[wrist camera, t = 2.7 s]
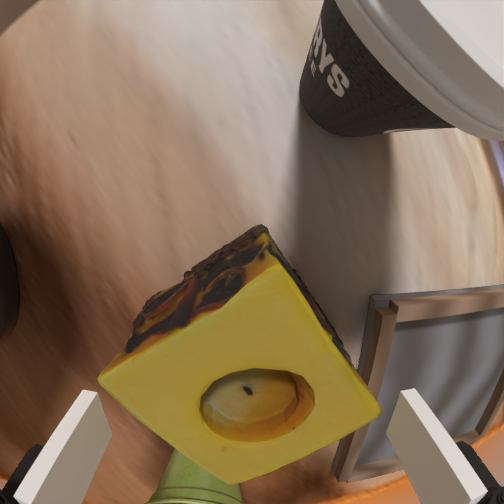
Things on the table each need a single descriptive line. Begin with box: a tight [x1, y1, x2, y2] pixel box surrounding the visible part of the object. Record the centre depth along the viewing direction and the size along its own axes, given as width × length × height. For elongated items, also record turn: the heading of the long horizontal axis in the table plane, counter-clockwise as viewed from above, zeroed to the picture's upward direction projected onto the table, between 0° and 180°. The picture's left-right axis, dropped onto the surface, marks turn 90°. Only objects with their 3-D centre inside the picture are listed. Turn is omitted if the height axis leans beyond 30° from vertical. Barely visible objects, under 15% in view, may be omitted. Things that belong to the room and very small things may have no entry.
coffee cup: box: [300, 0, 504, 141], centre depth 11 cm, size 10×10×15 cm
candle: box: [98, 224, 382, 485], centre depth 17 cm, size 10×10×10 cm
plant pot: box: [145, 448, 243, 504], centre depth 21 cm, size 9×9×9 cm
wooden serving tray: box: [332, 284, 504, 483], centre depth 23 cm, size 21×21×2 cm
